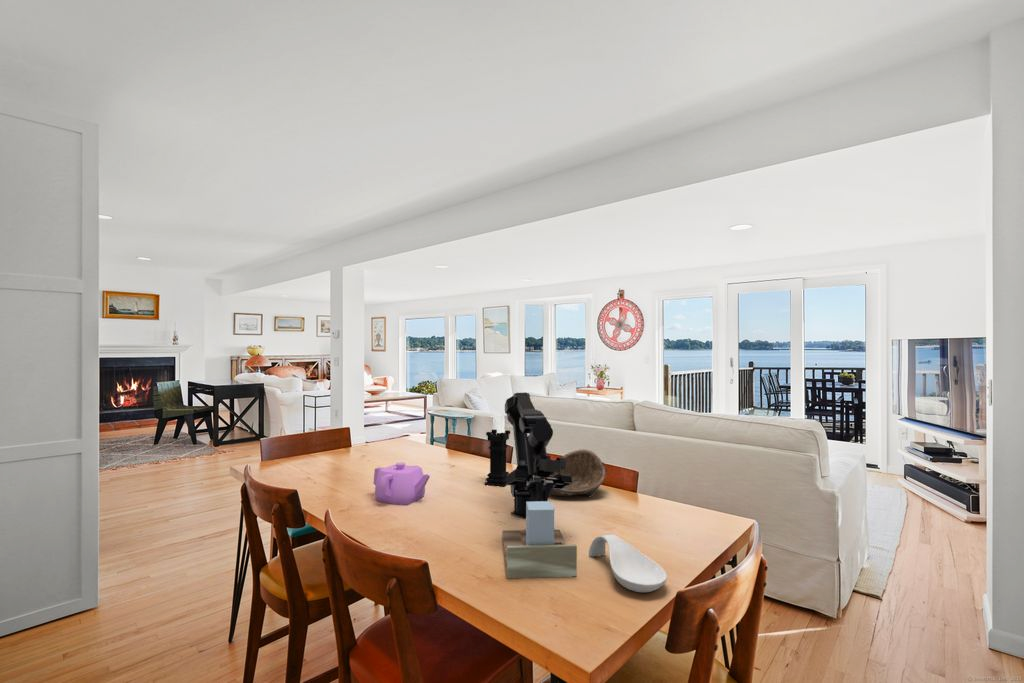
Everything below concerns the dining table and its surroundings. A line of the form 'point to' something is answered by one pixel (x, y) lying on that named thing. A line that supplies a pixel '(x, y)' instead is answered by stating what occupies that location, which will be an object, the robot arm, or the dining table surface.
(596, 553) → the spoon rest
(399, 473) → the teakettle
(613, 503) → the dining table surface
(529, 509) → the blue block
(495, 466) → the chess piece
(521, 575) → the board
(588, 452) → the coconut shell half
